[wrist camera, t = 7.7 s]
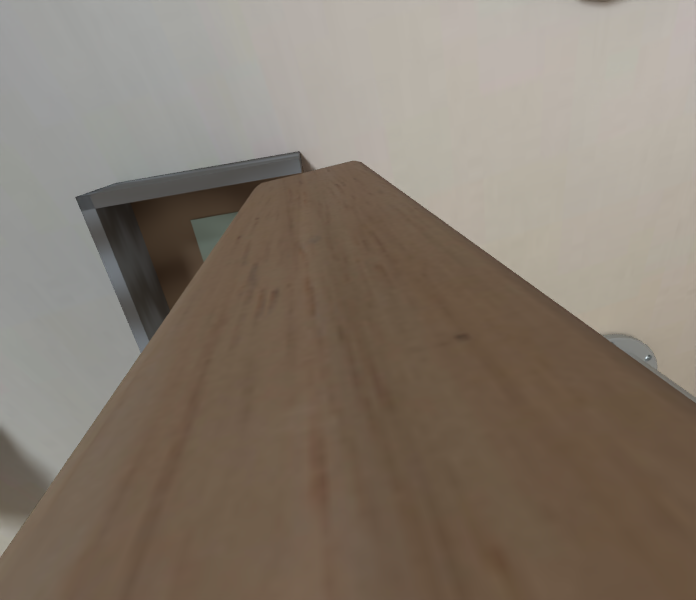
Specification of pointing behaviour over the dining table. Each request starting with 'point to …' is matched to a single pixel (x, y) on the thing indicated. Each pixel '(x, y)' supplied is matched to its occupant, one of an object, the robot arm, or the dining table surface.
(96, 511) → the wooden block
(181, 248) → the tray
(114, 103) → the dining table surface
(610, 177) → the dining table surface
